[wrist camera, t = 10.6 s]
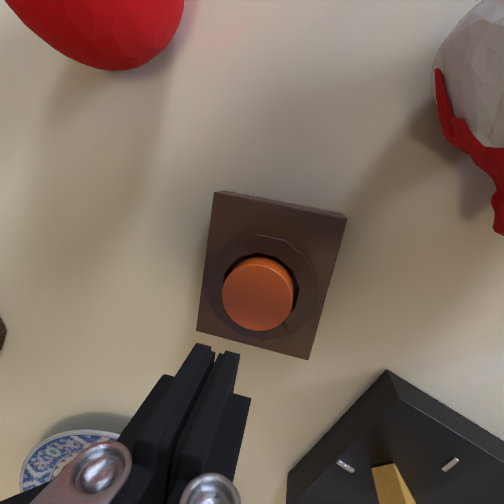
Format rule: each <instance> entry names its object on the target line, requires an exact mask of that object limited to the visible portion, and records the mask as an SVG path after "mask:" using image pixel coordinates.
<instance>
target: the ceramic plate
mask: <svg viewBox="0 0 504 504" xmlns="http://www.w3.org/2000/svg"><path fill="white" fill-rule="evenodd" d="M119 436H120V435H119V434H116V433H112V432H106V431H99V430H87V429H82V430H71V431H65V432H61V433H58V434H54V435H52V436H50V437H48V438H46V439H45V440H43V441H41V442H40V443H39V444H38V445H36V446H35V447H34V448H33V449H32V450H31V451H30V453H29V454H28V456H27V457H26V459H25V461H24V463H23V466H22V470H21V474H20V490H21V493H22V492H24V491H27V490H29V489H31V488H34V487H36V486H39V485H41V484H43V483H46V482H48V481H51V480H53V479H54V478H55V477H56V476H57V475H58V474H59V473H60V472H61V471H62V470H63V469H64V468H65V467H66V466H67V465H68V464H69V463H70V462H71V461H72V460H73V459H74V458H75V457H76V456H77V455H78V454H80V453H81V452H82V451H83V450H85V449H86V448H88V447H90V446H92V445H94V444H96V443H99V442H103V441H116V440H117V439H118V438H119Z"/></svg>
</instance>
